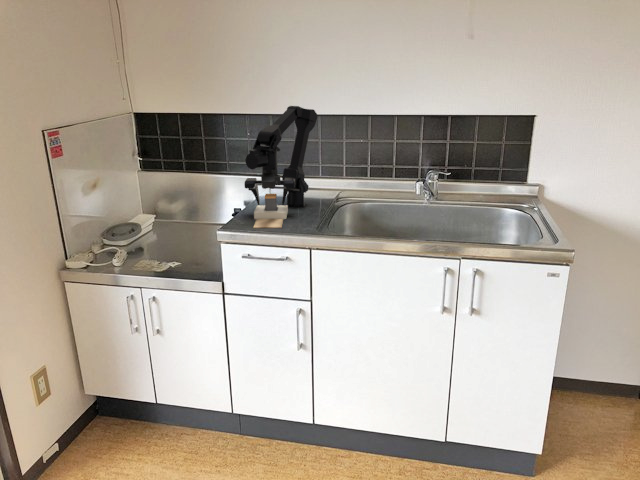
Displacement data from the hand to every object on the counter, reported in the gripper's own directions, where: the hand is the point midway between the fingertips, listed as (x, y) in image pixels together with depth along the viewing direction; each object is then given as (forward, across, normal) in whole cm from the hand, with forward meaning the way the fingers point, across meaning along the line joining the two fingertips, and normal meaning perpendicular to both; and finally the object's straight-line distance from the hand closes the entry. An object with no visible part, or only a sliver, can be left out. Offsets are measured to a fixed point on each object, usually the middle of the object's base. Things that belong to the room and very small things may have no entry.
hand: (271, 205), depth 205 cm
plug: (+4, 0, 0) cm, 4 cm away
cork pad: (+4, 0, -11) cm, 12 cm away
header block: (+4, 0, 0) cm, 4 cm away
